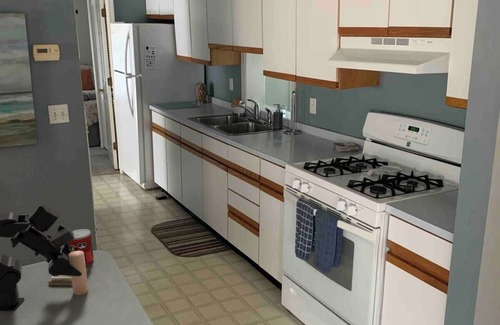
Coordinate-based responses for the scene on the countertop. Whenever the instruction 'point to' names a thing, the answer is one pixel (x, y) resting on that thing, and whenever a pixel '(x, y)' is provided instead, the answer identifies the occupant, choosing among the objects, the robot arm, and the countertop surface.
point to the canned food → (82, 244)
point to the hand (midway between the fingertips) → (80, 268)
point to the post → (79, 262)
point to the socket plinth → (61, 280)
